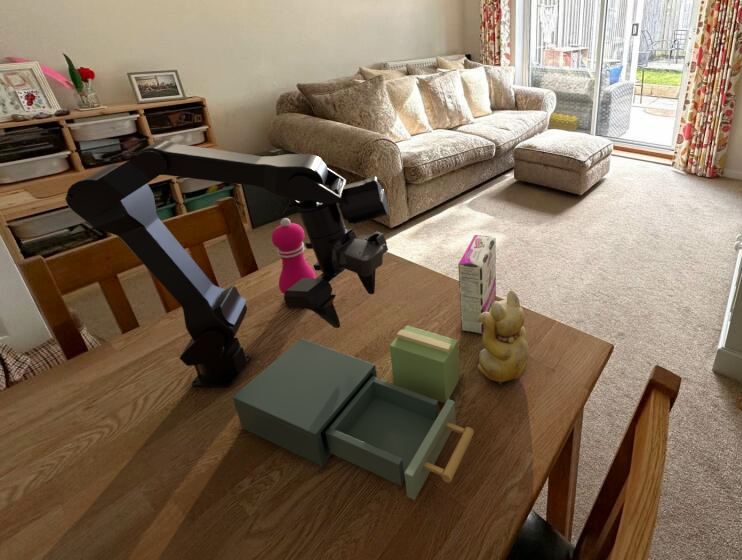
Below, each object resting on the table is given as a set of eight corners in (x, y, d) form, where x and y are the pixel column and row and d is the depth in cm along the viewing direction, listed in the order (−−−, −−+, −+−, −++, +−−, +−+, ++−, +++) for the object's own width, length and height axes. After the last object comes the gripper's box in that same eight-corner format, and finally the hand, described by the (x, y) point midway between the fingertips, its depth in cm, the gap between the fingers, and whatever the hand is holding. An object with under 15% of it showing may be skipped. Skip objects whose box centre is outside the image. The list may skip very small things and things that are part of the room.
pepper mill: (309, 309, 86) (293, 227, 79) (276, 308, 86) (256, 226, 79) (324, 288, 93) (310, 211, 86) (293, 287, 93) (276, 210, 86)
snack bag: (446, 404, 66) (443, 358, 63) (394, 385, 69) (389, 341, 66) (459, 380, 71) (458, 336, 67) (410, 363, 74) (406, 321, 70)
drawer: (480, 433, 61) (480, 410, 59) (443, 514, 51) (441, 489, 49) (377, 393, 67) (374, 371, 65) (326, 459, 57) (321, 435, 55)
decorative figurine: (503, 342, 79) (505, 278, 73) (539, 362, 75) (543, 296, 69) (471, 375, 72) (470, 307, 66) (508, 400, 67) (511, 329, 62)
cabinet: (379, 394, 68) (375, 364, 65) (322, 466, 57) (315, 434, 54) (307, 366, 73) (301, 337, 70) (242, 428, 62) (232, 397, 59)
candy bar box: (475, 296, 92) (474, 233, 86) (496, 299, 91) (497, 236, 85) (459, 331, 81) (457, 262, 75) (483, 335, 81) (483, 266, 74)
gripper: (322, 261, 55) (357, 352, 60) (399, 205, 72) (421, 280, 76) (265, 260, 59) (301, 346, 64) (350, 207, 76) (374, 278, 80)
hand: (355, 309), depth 71 cm, fingers open, 9 cm apart
